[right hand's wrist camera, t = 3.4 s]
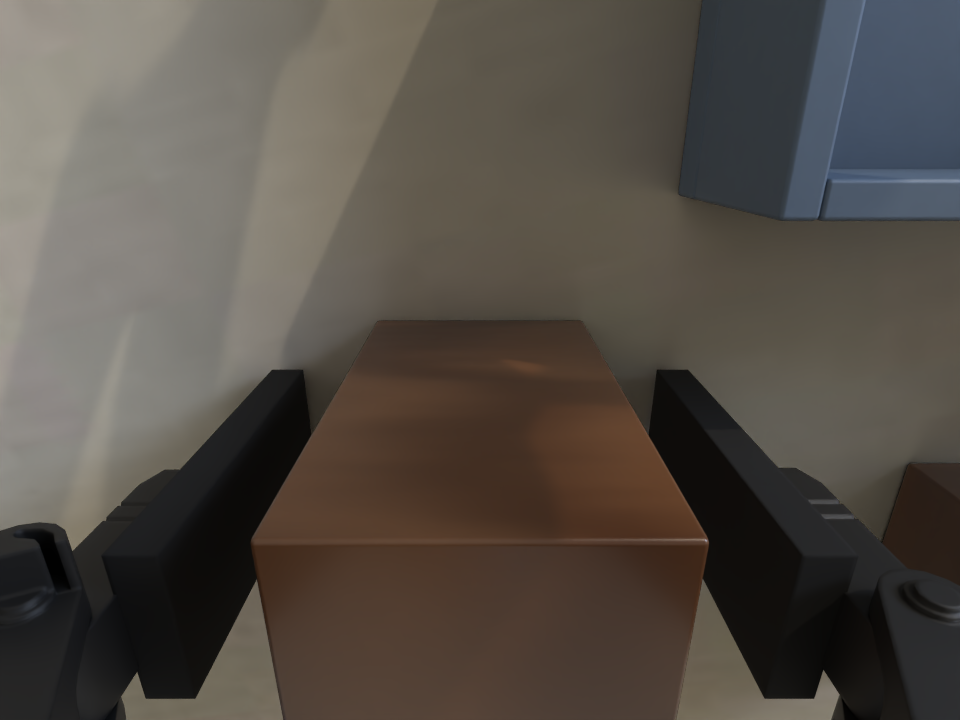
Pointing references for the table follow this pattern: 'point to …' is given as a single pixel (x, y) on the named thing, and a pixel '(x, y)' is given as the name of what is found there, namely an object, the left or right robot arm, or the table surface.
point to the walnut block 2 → (928, 520)
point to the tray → (826, 109)
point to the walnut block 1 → (479, 538)
